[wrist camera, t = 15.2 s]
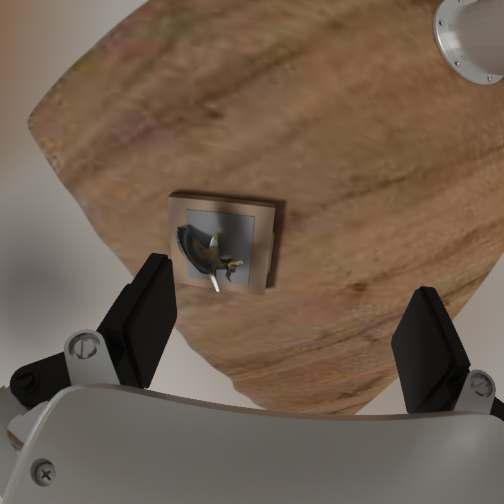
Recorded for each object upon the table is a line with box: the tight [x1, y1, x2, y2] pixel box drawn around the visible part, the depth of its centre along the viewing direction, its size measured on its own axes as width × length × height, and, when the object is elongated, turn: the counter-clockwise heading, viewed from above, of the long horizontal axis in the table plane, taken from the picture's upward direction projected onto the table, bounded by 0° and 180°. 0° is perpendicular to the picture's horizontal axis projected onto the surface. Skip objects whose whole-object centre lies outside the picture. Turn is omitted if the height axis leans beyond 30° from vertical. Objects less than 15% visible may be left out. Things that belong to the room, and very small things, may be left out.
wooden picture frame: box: [168, 193, 276, 295], centre depth 43 cm, size 14×14×2 cm
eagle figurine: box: [176, 226, 244, 292], centre depth 40 cm, size 8×7×9 cm
